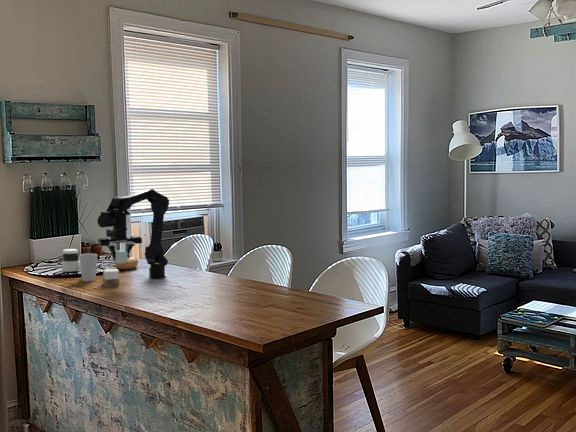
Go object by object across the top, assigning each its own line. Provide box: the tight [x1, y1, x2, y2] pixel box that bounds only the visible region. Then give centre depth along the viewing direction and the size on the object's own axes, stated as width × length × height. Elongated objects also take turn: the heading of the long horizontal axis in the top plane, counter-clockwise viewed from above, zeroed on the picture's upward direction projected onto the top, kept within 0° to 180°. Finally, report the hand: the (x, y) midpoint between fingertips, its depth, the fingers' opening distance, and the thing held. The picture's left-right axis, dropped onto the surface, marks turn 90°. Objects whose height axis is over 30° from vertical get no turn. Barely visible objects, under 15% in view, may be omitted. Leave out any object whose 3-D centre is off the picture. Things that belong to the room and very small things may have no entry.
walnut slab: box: [102, 277, 120, 287], centre depth 283 cm, size 6×6×4 cm
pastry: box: [113, 254, 139, 271], centre depth 320 cm, size 12×12×9 cm
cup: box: [78, 252, 98, 282], centre depth 291 cm, size 8×8×12 cm
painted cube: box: [112, 249, 127, 263], centre depth 280 cm, size 5×5×5 cm
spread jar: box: [61, 248, 81, 275], centre depth 305 cm, size 12×11×12 cm
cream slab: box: [102, 268, 120, 280], centre depth 283 cm, size 6×6×4 cm
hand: (120, 259), depth 280 cm, fingers closed on painted cube, 5 cm apart
